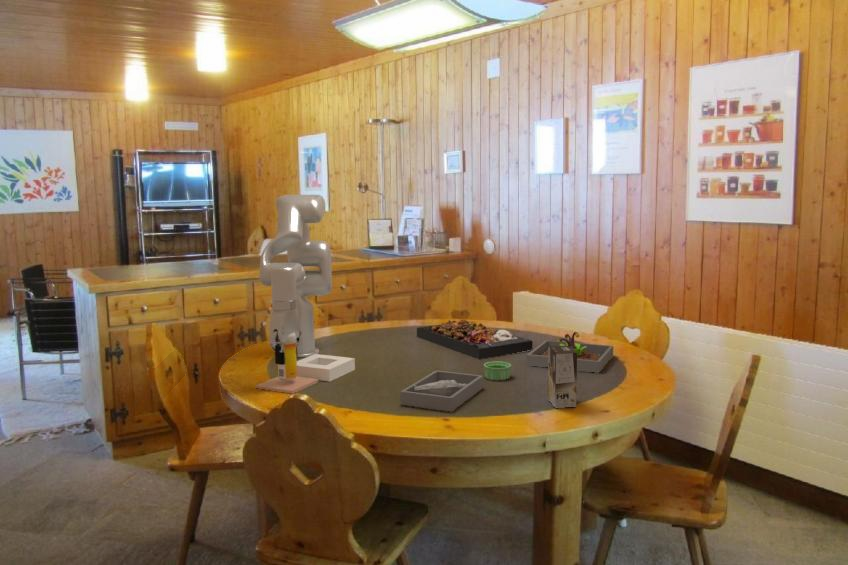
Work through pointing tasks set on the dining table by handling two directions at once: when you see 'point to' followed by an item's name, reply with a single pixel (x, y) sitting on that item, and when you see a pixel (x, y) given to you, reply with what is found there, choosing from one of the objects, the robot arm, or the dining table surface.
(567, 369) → the coffee box
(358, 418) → the dining table surface
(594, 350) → the planter frame
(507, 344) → the food platter
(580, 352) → the plant
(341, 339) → the dining table surface
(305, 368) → the frame
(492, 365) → the ramekin
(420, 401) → the grey tray
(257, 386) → the coaster tile
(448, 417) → the dining table surface
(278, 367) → the beer can
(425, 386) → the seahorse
